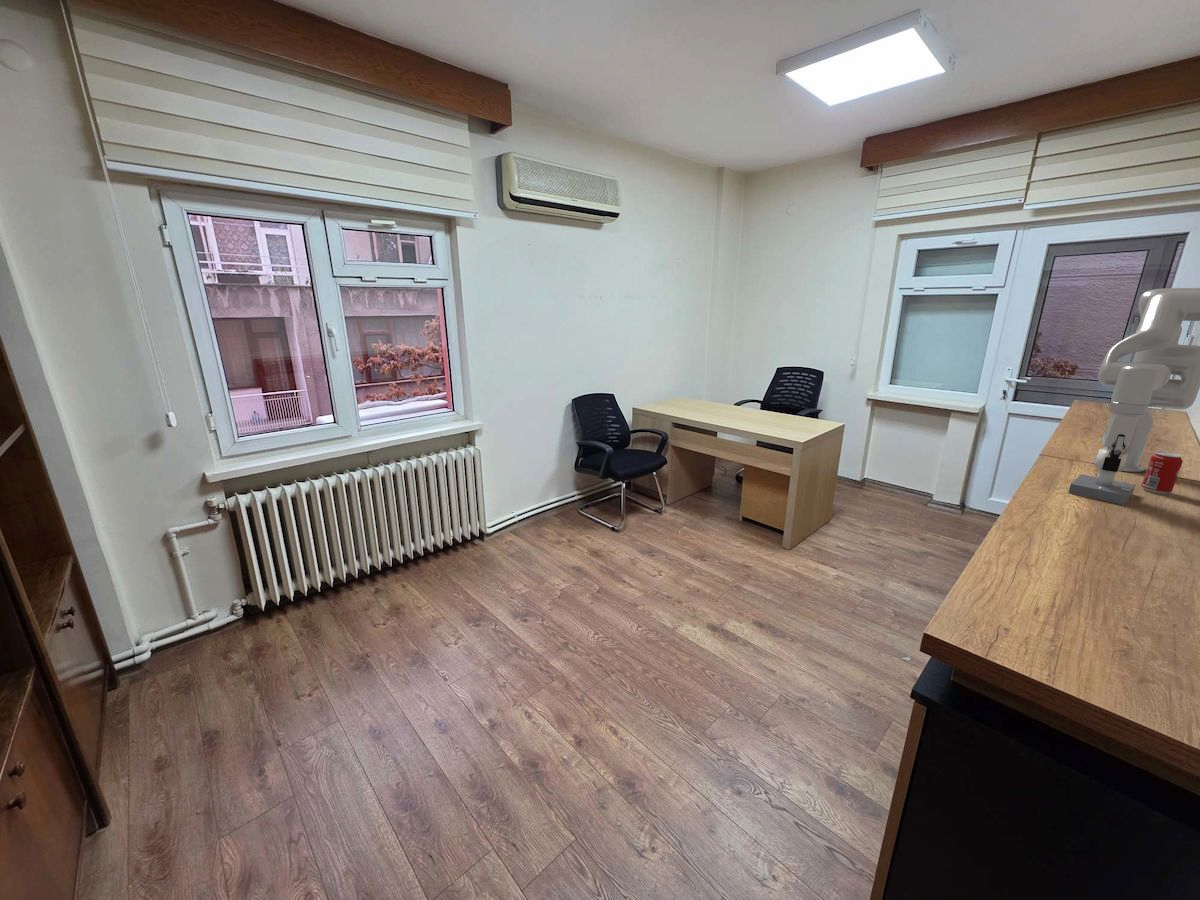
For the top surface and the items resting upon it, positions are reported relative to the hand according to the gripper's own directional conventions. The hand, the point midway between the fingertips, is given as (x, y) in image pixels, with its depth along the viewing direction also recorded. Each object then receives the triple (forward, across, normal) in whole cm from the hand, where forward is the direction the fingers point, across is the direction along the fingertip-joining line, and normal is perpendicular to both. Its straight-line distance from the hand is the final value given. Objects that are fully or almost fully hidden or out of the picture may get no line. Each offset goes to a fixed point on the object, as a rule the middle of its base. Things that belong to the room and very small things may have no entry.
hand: (1108, 467), depth 144 cm
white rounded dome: (0, 0, 0) cm, 0 cm away
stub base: (+8, 0, 0) cm, 8 cm away
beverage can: (+9, -14, +13) cm, 21 cm away
